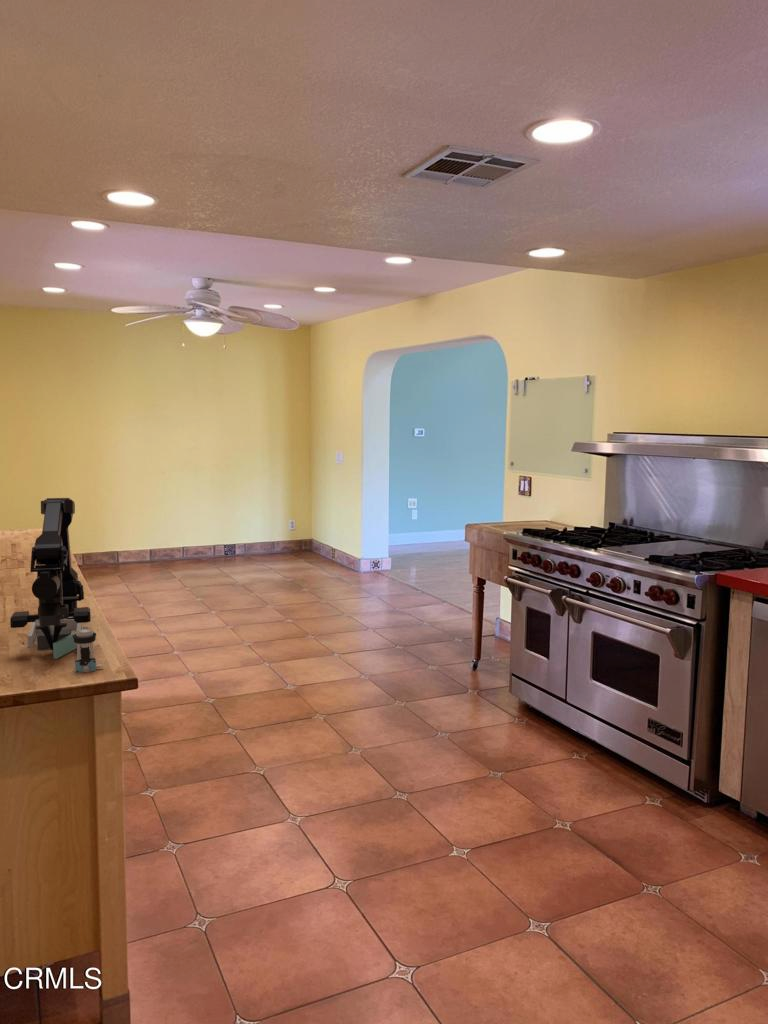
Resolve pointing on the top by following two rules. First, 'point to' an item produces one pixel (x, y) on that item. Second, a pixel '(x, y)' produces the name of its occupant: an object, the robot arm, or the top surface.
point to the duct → (70, 625)
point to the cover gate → (64, 646)
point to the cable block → (43, 642)
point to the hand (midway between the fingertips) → (52, 649)
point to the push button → (85, 651)
